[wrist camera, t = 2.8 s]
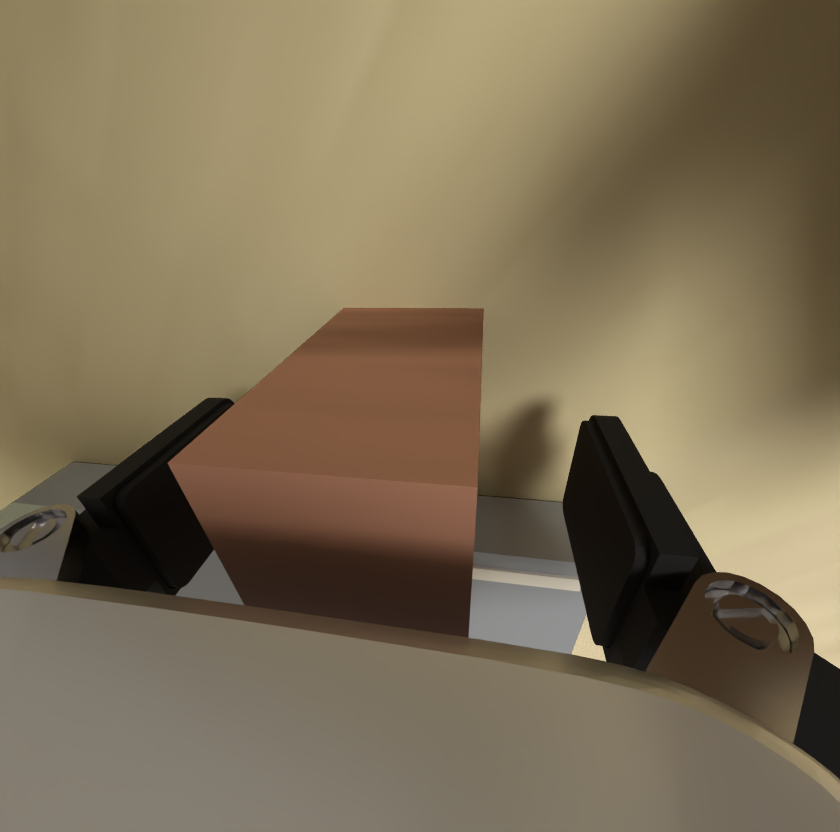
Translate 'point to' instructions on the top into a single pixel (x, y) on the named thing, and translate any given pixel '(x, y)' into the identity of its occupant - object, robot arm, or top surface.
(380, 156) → the top surface
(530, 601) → the grey board
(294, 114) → the top surface
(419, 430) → the brown block
